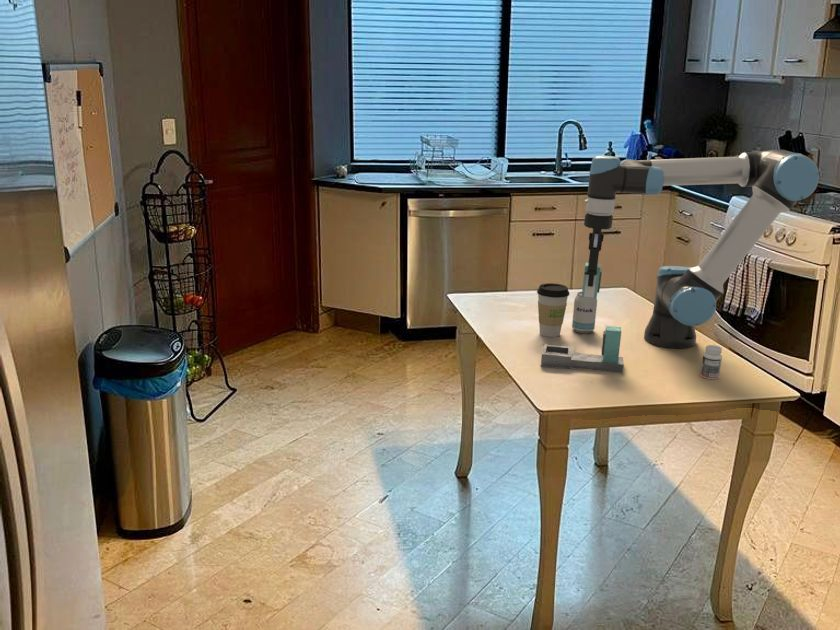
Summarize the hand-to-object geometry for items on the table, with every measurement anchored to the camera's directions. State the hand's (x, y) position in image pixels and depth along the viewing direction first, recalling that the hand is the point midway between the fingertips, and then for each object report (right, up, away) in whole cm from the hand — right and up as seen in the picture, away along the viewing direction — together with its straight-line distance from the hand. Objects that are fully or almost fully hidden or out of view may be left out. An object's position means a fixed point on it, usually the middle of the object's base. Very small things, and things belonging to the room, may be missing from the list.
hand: (589, 294), depth 226 cm
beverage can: (+3, -11, +24) cm, 26 cm away
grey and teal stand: (-3, -20, -6) cm, 21 cm away
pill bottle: (+30, -23, -11) cm, 39 cm away
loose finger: (0, 0, 0) cm, 0 cm away
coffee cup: (-8, -12, +20) cm, 24 cm away
